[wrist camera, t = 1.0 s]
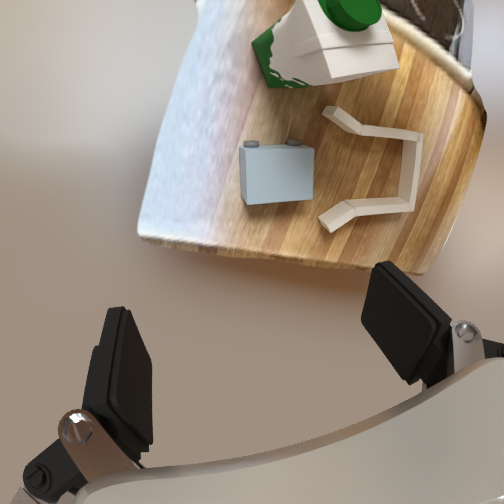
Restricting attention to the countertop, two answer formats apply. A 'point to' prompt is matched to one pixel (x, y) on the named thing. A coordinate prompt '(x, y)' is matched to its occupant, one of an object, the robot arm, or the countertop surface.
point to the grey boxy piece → (276, 172)
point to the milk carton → (326, 44)
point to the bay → (407, 174)
